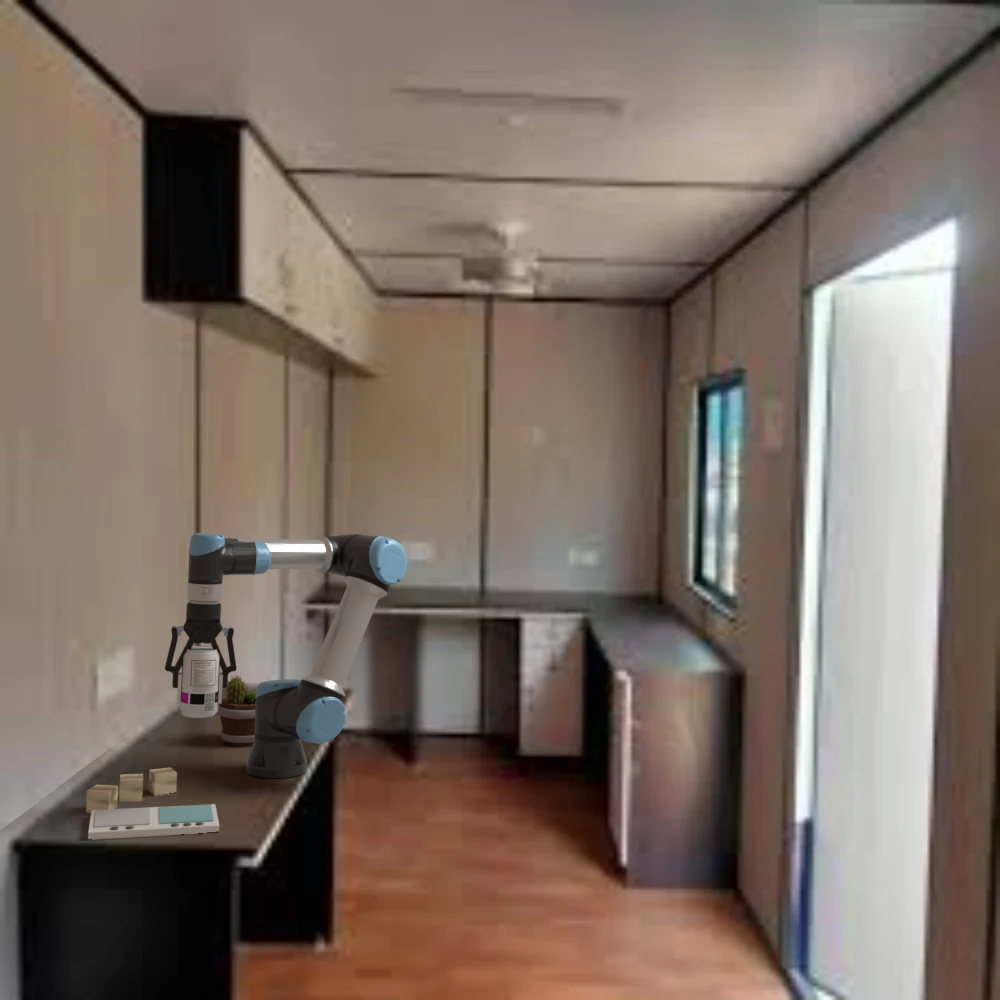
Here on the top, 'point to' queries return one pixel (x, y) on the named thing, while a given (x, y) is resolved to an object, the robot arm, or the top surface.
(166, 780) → the maple block
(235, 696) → the flowerpot
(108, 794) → the maple block
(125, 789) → the maple block
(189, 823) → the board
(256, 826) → the top surface
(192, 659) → the supplement can
